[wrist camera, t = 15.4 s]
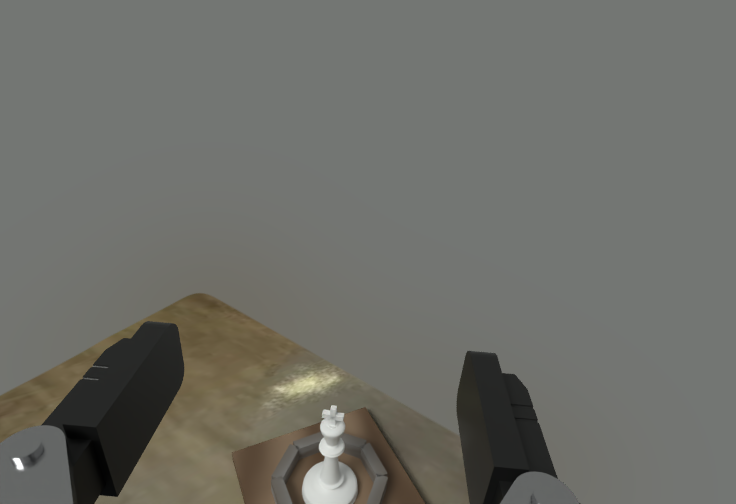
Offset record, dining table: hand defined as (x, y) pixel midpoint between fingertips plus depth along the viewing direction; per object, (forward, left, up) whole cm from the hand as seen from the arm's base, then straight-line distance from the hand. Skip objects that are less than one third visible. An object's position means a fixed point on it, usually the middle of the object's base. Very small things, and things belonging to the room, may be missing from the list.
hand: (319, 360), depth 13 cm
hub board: (-7, -14, -30) cm, 34 cm away
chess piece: (-7, -14, -29) cm, 33 cm away
